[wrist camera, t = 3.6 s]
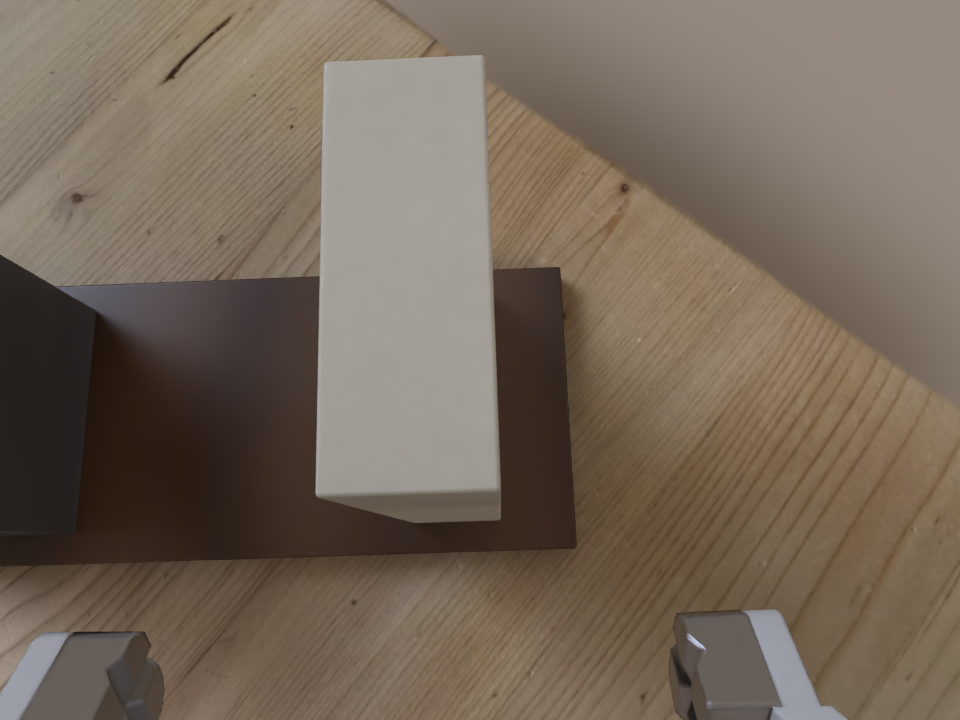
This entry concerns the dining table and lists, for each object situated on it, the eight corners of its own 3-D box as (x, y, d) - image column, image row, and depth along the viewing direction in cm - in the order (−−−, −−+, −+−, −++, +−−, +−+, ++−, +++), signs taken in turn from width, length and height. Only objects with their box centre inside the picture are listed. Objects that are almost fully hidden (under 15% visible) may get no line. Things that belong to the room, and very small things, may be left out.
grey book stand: (558, 275, 29) (602, 65, 16) (574, 548, 26) (641, 550, 14) (-43, 298, 29) (-456, 111, 17) (-80, 569, 27) (-594, 590, 14)
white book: (492, 295, 28) (484, 52, 14) (501, 520, 26) (501, 492, 12) (410, 298, 28) (322, 60, 14) (412, 523, 26) (313, 498, 12)
